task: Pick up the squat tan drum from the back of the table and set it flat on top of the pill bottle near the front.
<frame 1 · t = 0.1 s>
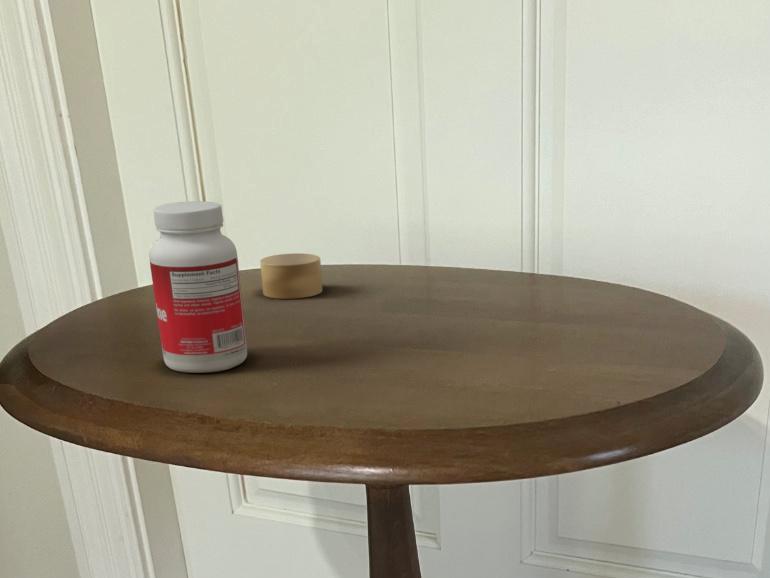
squat tan drum: (292, 292, 101), on the table
pill bottle: (206, 365, 80), on the table
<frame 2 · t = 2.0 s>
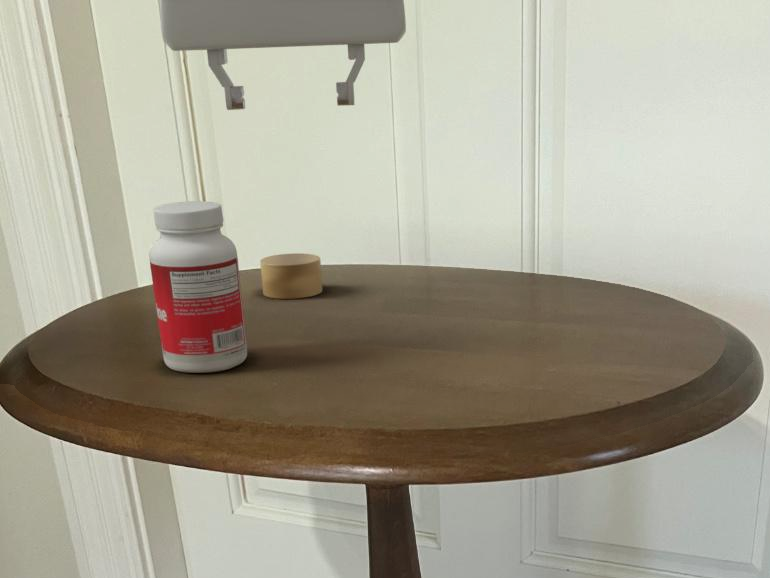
hand: (291, 107, 93), 16 cm above the table, tool pointing down, fingers open, 8 cm apart
nothing on the table moved.
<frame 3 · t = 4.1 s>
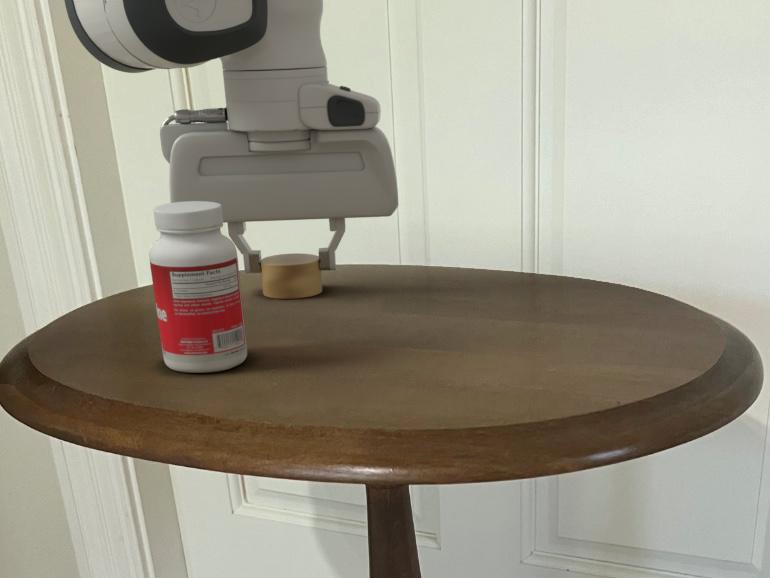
hand: (291, 270, 100), 2 cm above the table, tool pointing down, fingers closed on squat tan drum, 5 cm apart
squat tan drum: (292, 292, 101), on the table, touching gripper
everything else where it was.
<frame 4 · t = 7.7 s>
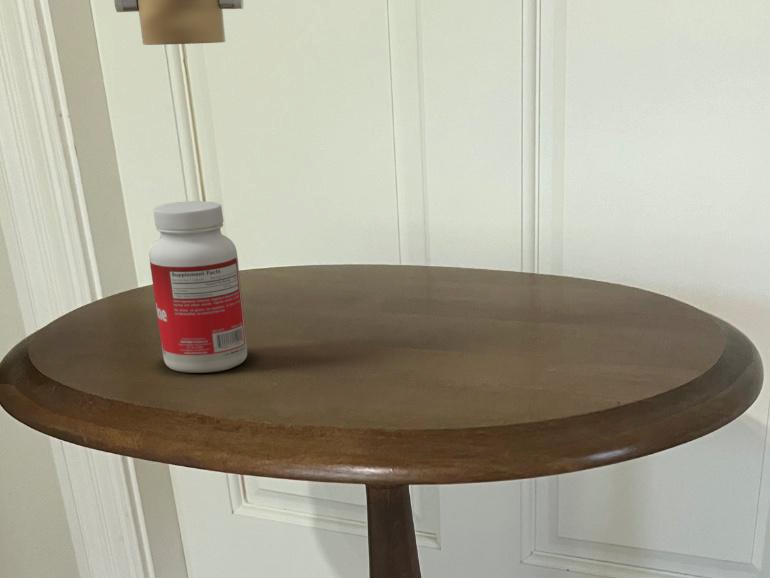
hand: (181, 10, 72), 23 cm above the table, tool pointing down, fingers closed on squat tan drum, 5 cm apart
squat tan drum: (184, 43, 73), point 21 cm above the table, touching gripper
everything else where it was.
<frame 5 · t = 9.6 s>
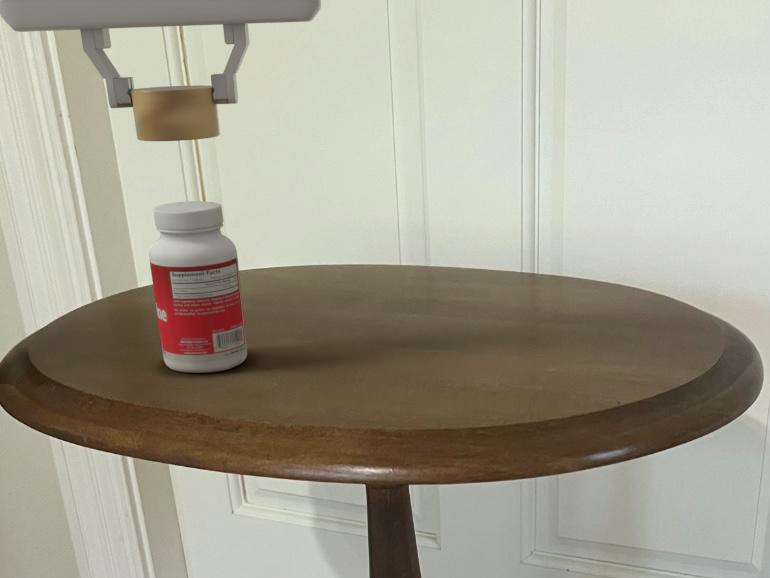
hand: (175, 105, 72), 17 cm above the table, tool pointing down, fingers closed on squat tan drum, 5 cm apart
squat tan drum: (179, 137, 73), point 15 cm above the table, touching gripper
everything else where it was.
when the fingers open (13 cm above the table, at t = 11.3 s): squat tan drum stays where it is, resting on pill bottle.
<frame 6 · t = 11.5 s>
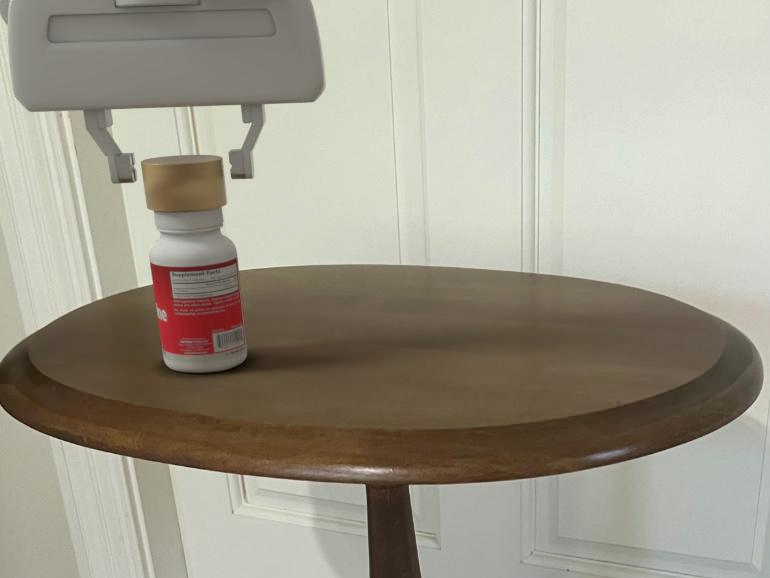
hand: (184, 180, 74), 13 cm above the table, tool pointing down, fingers open, 7 cm apart
squat tan drum: (187, 205, 75), point 11 cm above the table, touching pill bottle
pill bottle: (206, 365, 80), on the table, touching squat tan drum
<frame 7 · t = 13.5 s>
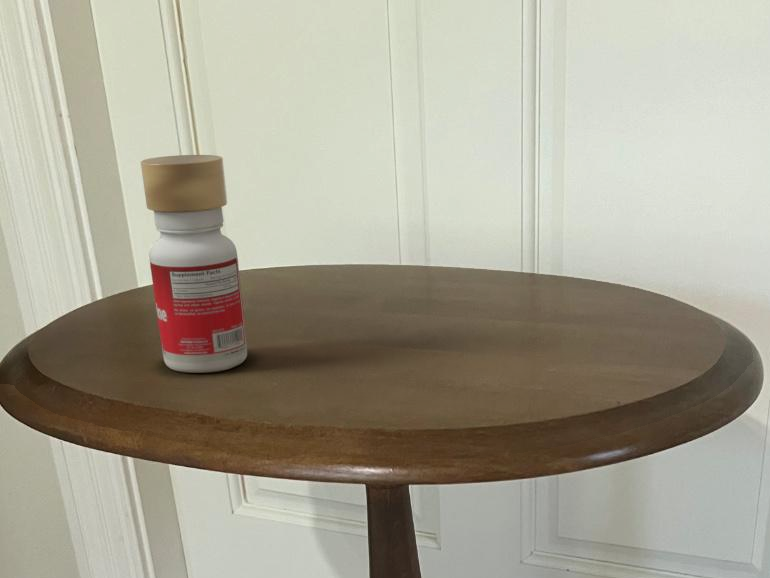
nothing on the table moved.
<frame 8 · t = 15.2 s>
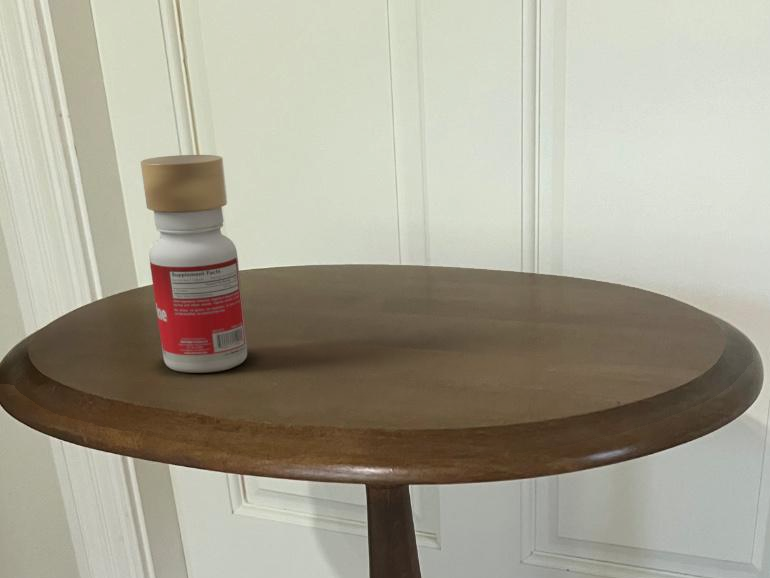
nothing on the table moved.
at the end: squat tan drum 0.0 cm off-centre on the pill bottle, point 11.3 cm above the pill bottle's base; pill bottle tilted 0°; the gripper is holding nothing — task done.
